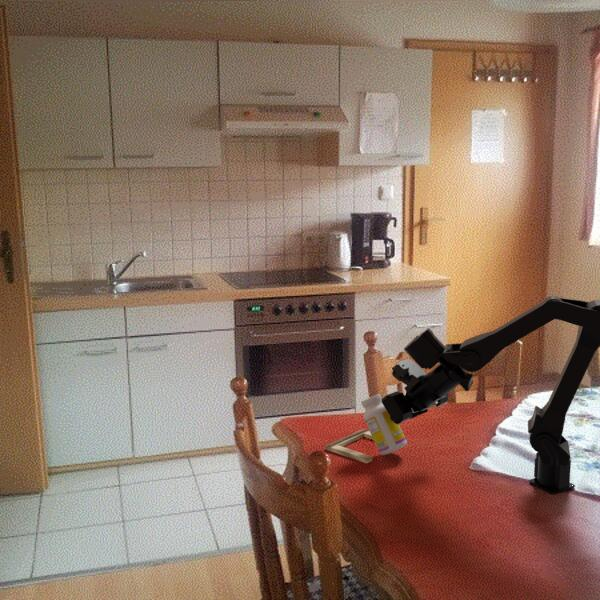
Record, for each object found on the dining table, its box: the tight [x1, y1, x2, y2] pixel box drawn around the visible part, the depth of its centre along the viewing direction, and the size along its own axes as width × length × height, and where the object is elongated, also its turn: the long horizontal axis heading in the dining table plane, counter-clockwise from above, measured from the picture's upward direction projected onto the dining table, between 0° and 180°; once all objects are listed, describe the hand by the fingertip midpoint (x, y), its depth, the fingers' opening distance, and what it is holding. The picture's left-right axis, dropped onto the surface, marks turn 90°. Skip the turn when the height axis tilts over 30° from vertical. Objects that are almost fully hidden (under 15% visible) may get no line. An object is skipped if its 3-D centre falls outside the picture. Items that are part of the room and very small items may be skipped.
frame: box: [324, 428, 374, 464], centre depth 167 cm, size 12×14×1 cm
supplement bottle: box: [361, 393, 408, 456], centre depth 162 cm, size 7×7×13 cm
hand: (391, 418), depth 160 cm, fingers closed, pressing on supplement bottle
